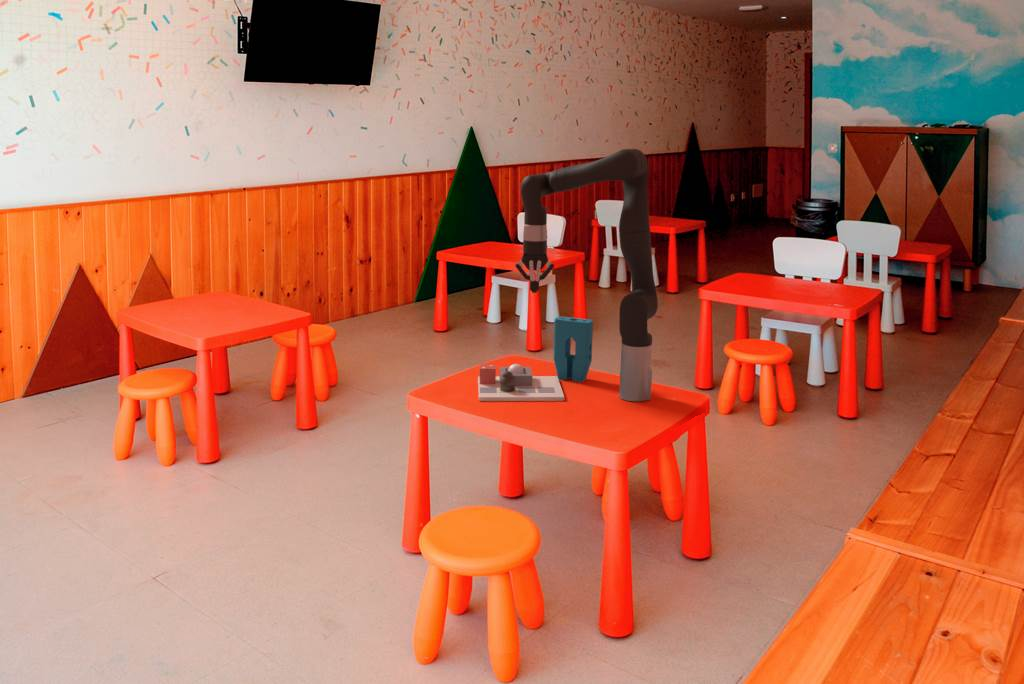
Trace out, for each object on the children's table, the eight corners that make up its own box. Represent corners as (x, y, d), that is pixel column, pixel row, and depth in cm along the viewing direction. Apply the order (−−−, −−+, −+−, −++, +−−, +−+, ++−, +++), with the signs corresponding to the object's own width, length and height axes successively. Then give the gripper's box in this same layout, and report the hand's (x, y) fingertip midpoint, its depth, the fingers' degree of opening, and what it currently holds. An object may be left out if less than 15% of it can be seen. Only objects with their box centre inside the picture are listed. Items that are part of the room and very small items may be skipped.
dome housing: (530, 377, 296) (530, 366, 295) (532, 386, 286) (532, 375, 285) (499, 377, 295) (499, 366, 294) (500, 386, 285) (500, 375, 285)
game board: (557, 379, 297) (557, 375, 297) (564, 400, 276) (564, 396, 276) (477, 379, 296) (477, 376, 296) (478, 401, 275) (478, 396, 274)
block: (591, 379, 298) (593, 320, 293) (586, 383, 294) (588, 323, 289) (557, 374, 303) (559, 316, 298) (552, 378, 299) (553, 319, 294)
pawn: (514, 387, 284) (514, 369, 282) (514, 392, 280) (515, 373, 278) (500, 387, 284) (500, 369, 282) (500, 392, 279) (500, 373, 278)
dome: (523, 377, 293) (524, 361, 292) (524, 382, 288) (525, 366, 286) (506, 377, 293) (506, 361, 292) (507, 382, 287) (507, 366, 286)
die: (495, 379, 293) (495, 364, 291) (495, 384, 288) (495, 368, 286) (479, 379, 292) (479, 364, 291) (479, 384, 287) (479, 368, 286)
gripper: (554, 237, 290) (553, 290, 295) (513, 236, 289) (512, 290, 294) (557, 240, 283) (555, 294, 287) (514, 240, 282) (514, 294, 287)
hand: (534, 292), depth 291 cm, fingers closed
